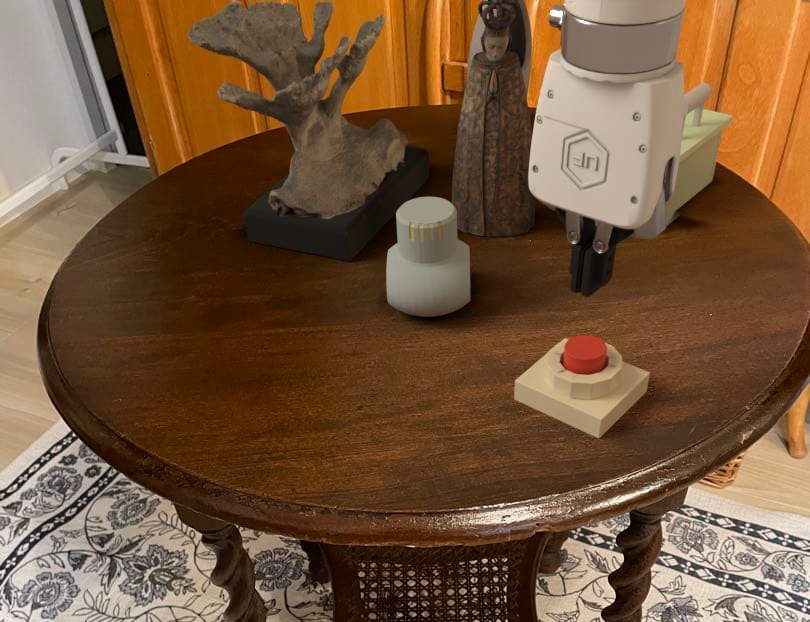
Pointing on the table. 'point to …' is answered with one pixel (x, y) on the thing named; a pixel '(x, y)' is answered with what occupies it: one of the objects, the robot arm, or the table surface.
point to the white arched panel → (520, 39)
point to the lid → (700, 120)
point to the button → (584, 355)
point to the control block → (582, 390)
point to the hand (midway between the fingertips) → (589, 286)
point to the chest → (693, 175)
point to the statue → (494, 136)
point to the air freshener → (428, 260)
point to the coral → (315, 131)
